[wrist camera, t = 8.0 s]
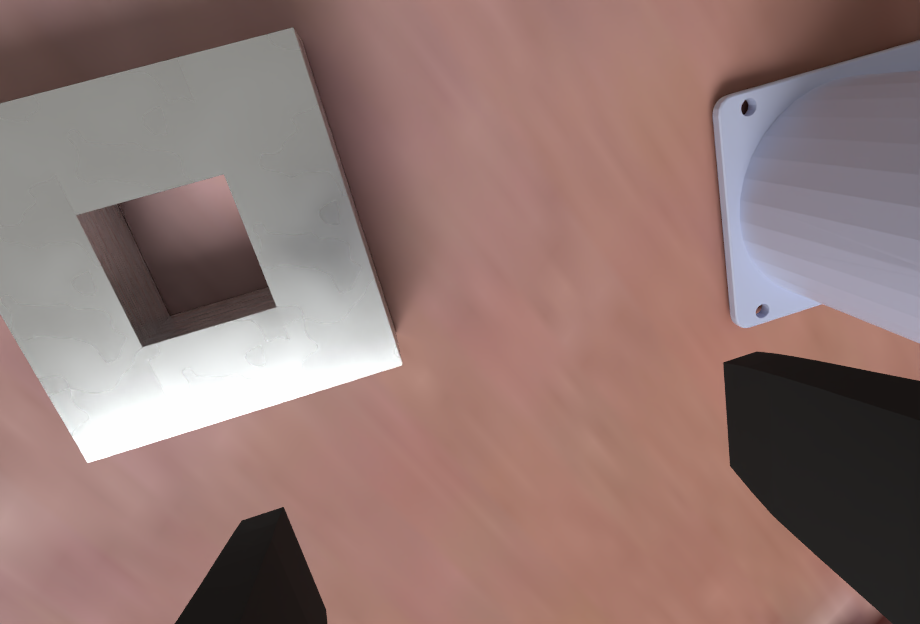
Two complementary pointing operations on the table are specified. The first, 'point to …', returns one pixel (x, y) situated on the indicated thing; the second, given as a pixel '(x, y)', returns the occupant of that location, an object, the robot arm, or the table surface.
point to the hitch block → (125, 273)
